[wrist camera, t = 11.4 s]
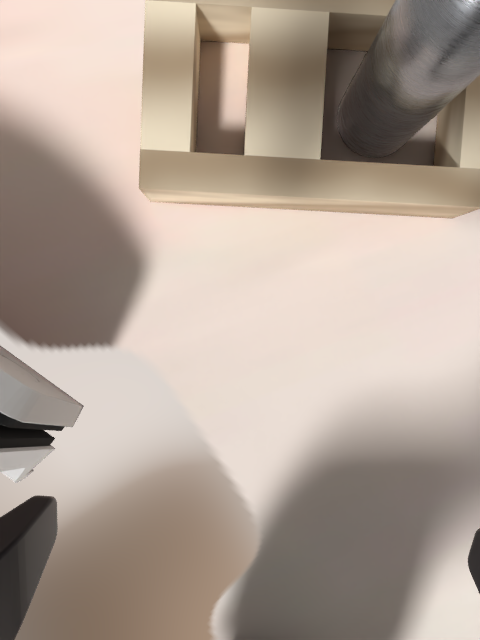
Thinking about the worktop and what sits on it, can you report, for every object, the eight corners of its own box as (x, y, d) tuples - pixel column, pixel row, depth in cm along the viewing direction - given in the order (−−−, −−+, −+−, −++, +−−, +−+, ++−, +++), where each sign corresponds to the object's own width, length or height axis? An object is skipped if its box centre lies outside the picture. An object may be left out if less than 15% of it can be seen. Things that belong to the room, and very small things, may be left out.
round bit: (421, 146, 20) (719, -98, 8) (347, 166, 20) (527, -45, 8) (403, 70, 20) (680, -307, 8) (328, 90, 20) (482, -253, 8)
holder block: (452, 218, 21) (483, 207, 18) (150, 201, 20) (138, 188, 18) (468, 22, 20) (502, -18, 17) (157, 1, 20) (146, -42, 17)
